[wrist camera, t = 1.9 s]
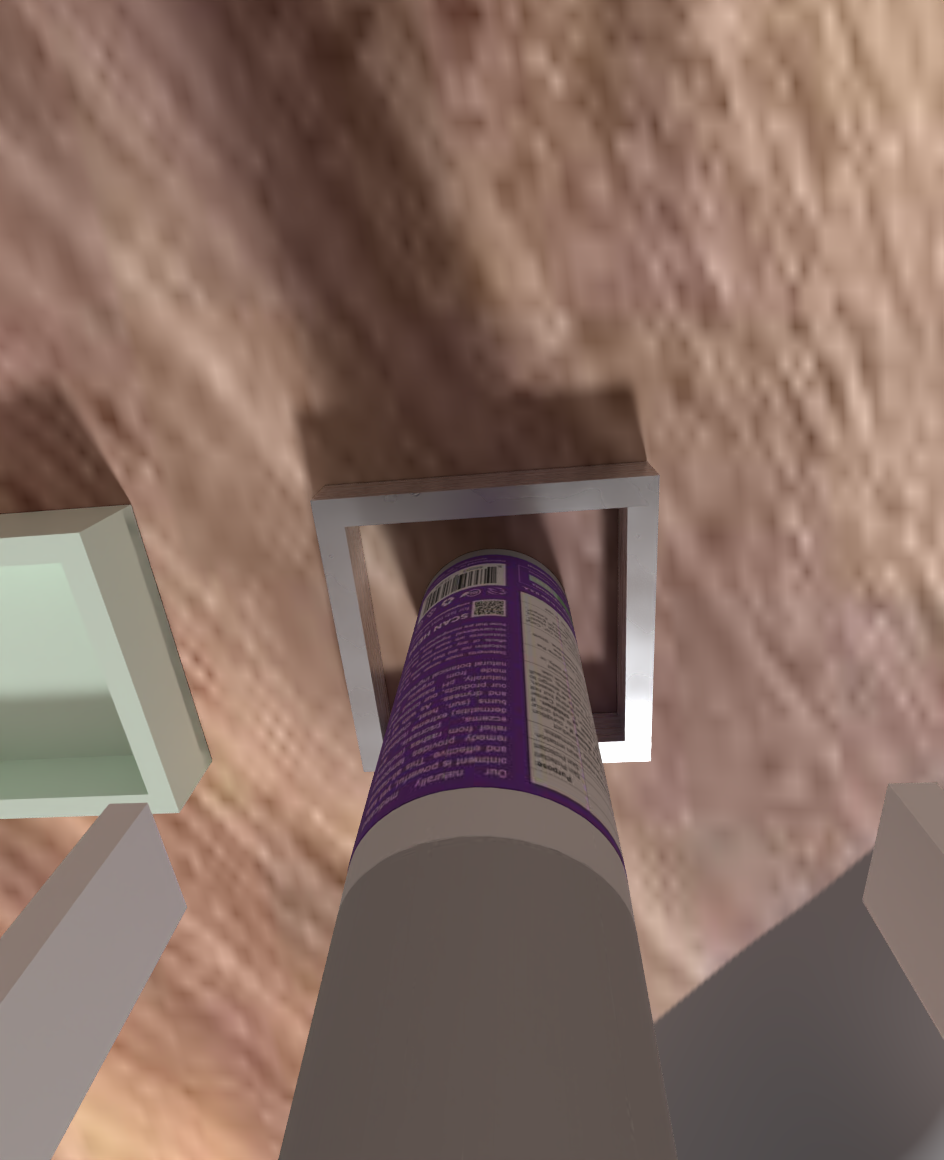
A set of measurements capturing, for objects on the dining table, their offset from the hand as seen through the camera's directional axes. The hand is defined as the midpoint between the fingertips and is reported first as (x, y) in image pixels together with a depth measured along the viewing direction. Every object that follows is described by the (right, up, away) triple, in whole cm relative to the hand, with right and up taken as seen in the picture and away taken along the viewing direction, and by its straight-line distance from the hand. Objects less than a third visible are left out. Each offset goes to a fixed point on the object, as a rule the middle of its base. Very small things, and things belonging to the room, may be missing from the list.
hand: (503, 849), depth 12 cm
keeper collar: (0, +4, +8) cm, 9 cm away
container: (0, +4, +8) cm, 9 cm away
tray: (-15, +2, +10) cm, 18 cm away
